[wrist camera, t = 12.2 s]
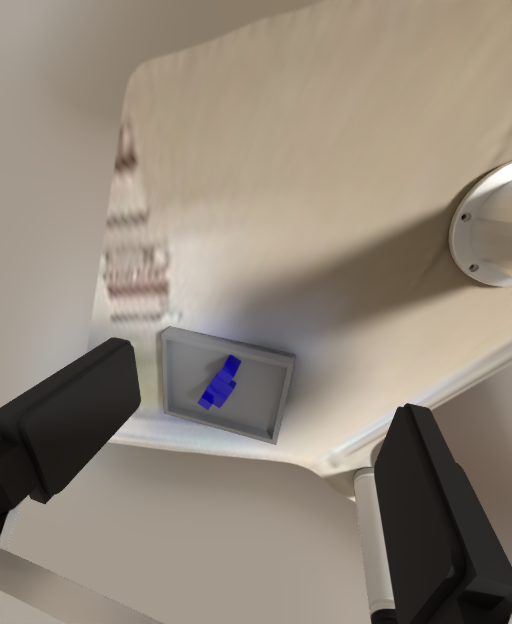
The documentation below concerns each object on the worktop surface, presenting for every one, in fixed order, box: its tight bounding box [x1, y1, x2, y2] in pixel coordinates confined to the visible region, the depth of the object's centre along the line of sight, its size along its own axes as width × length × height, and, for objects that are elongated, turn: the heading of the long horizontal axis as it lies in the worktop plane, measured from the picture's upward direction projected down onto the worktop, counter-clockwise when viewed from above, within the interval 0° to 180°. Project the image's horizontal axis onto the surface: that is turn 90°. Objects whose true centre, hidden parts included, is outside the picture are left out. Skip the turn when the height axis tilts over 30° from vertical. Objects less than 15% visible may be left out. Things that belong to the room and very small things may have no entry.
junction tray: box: [161, 326, 295, 445], centre depth 41 cm, size 20×16×2 cm
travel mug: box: [353, 468, 398, 624], centre depth 35 cm, size 6×7×20 cm
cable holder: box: [197, 354, 242, 410], centre depth 39 cm, size 8×4×4 cm, turn 147°
